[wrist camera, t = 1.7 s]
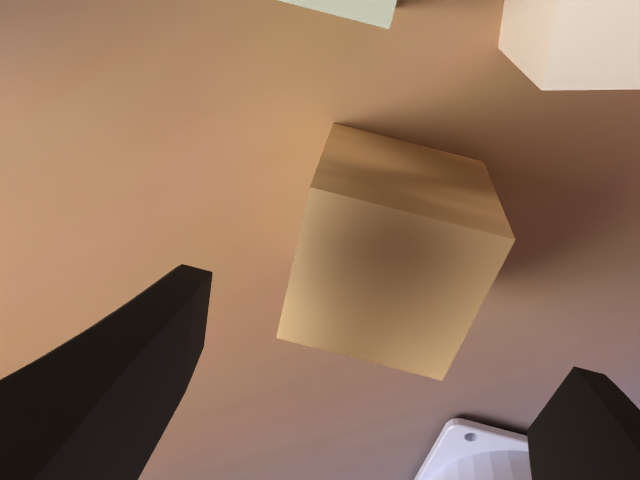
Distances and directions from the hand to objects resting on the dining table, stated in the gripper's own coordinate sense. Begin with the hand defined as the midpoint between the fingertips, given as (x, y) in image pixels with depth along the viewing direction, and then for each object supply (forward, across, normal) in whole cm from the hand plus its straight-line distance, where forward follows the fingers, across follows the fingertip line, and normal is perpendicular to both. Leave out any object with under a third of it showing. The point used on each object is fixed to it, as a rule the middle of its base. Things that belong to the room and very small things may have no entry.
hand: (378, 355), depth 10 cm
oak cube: (+7, 0, 0) cm, 7 cm away
